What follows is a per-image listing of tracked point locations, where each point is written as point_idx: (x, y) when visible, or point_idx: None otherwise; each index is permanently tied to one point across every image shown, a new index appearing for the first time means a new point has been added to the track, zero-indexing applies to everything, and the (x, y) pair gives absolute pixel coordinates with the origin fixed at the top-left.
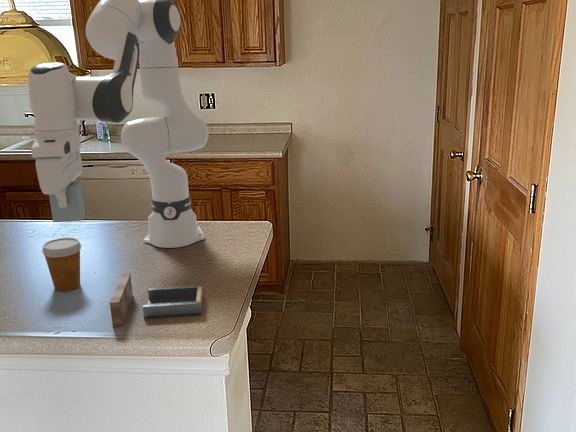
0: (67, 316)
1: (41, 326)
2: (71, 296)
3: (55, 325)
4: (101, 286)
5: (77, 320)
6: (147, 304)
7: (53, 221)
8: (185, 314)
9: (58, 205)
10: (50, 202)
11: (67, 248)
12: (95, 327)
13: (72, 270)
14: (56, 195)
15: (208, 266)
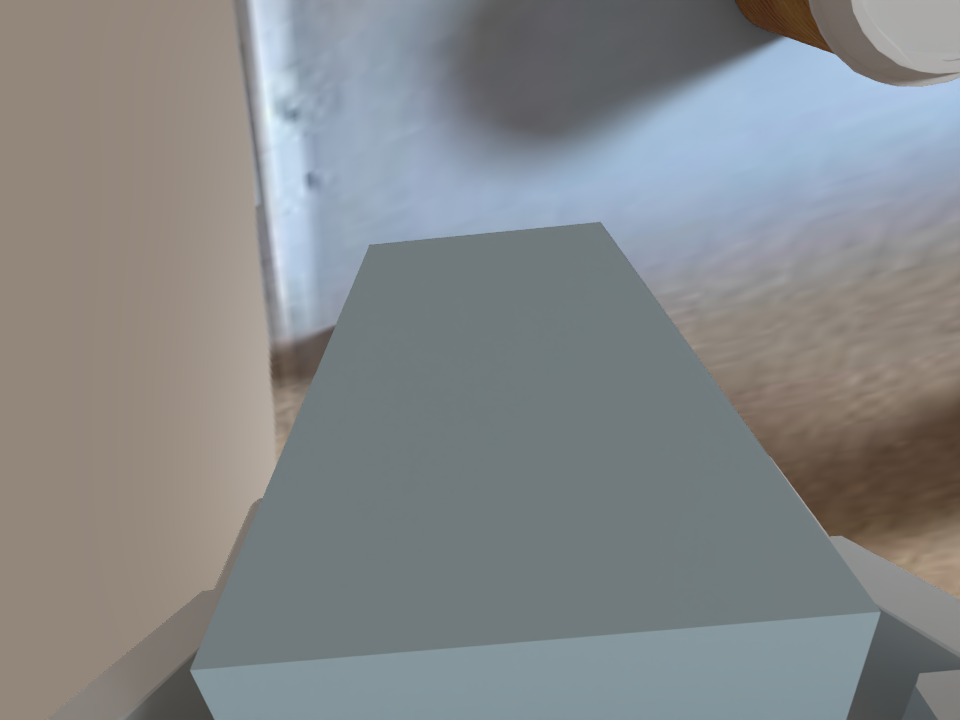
0: (439, 98)
1: (338, 2)
2: (657, 34)
3: (352, 73)
4: (747, 156)
5: (401, 160)
6: None
7: (371, 253)
8: None
9: (252, 510)
10: (315, 382)
11: (854, 21)
12: (346, 256)
13: (785, 26)
14: (87, 711)
15: (835, 521)
